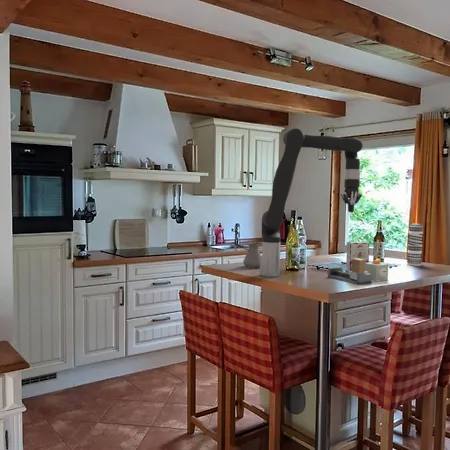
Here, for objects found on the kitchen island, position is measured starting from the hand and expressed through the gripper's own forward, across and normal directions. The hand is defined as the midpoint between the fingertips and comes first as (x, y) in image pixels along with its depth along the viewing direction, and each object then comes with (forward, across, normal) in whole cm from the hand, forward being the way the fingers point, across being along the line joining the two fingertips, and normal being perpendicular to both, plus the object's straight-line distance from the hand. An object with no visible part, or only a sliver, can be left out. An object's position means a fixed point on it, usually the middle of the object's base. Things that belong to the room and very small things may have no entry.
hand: (350, 212), depth 244 cm
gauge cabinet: (+33, -5, +14) cm, 36 cm away
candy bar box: (+33, -12, -6) cm, 36 cm away
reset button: (+28, -5, +14) cm, 31 cm away
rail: (+33, +9, +10) cm, 36 cm away
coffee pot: (+33, +37, -40) cm, 64 cm away
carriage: (+31, +9, +16) cm, 36 cm away
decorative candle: (+33, -65, -12) cm, 74 cm away
